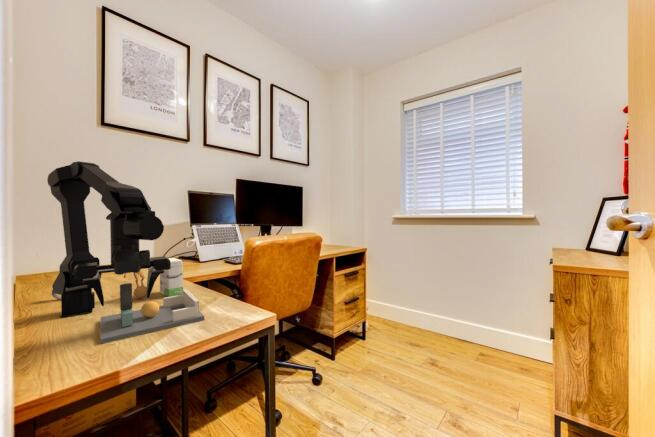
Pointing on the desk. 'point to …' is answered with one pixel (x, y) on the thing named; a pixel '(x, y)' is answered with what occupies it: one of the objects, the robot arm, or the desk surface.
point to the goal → (184, 299)
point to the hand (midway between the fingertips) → (126, 301)
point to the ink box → (172, 279)
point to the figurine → (140, 290)
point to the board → (142, 323)
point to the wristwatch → (55, 295)
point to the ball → (150, 309)
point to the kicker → (126, 304)
